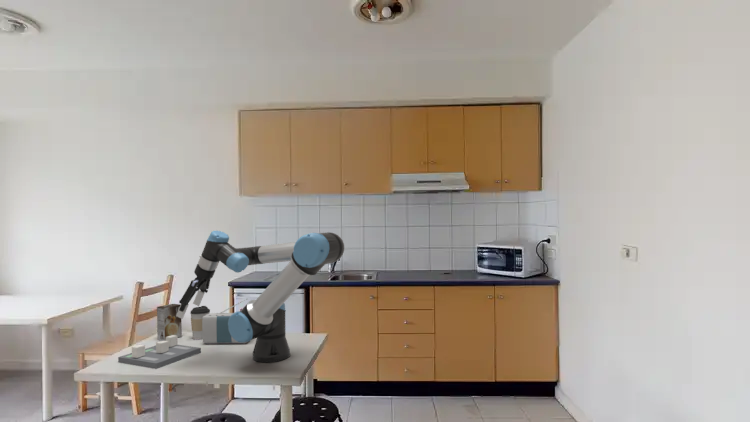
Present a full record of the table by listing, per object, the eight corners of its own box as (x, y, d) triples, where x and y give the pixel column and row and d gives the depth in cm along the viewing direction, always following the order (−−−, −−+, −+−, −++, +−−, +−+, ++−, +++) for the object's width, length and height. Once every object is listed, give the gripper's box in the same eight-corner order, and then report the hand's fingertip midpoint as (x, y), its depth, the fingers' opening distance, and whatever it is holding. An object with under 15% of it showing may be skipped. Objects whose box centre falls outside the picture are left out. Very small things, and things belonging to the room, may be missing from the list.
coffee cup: (203, 340, 204) (203, 309, 205) (186, 340, 206) (186, 308, 207) (214, 335, 213) (213, 305, 214) (197, 335, 215) (197, 305, 215)
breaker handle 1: (145, 355, 175) (145, 345, 175) (137, 357, 172) (136, 347, 172) (140, 354, 176) (140, 344, 176) (131, 357, 173) (131, 347, 173)
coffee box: (174, 335, 216) (174, 303, 216) (182, 336, 212) (181, 304, 213) (156, 339, 208) (156, 306, 208) (164, 341, 204) (164, 307, 205)
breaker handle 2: (177, 344, 190) (177, 335, 190) (170, 346, 186) (170, 337, 186) (172, 344, 191) (172, 335, 191) (165, 346, 188) (165, 337, 188)
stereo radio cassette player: (201, 345, 197) (201, 301, 198) (209, 340, 205) (208, 298, 206) (246, 344, 196) (246, 301, 197) (252, 339, 204) (251, 297, 205)
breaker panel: (200, 352, 186) (200, 347, 186) (156, 368, 165) (156, 363, 166) (164, 347, 195) (164, 342, 195) (118, 362, 174) (118, 356, 174)
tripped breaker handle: (168, 350, 181) (168, 341, 181) (161, 353, 177) (161, 343, 178) (163, 350, 182) (163, 340, 182) (156, 352, 179) (156, 342, 179)
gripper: (212, 254, 187) (194, 296, 191) (182, 271, 163) (163, 318, 166) (227, 262, 187) (209, 303, 191) (200, 280, 163) (180, 327, 166)
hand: (188, 310), depth 178 cm, fingers open, 13 cm apart
